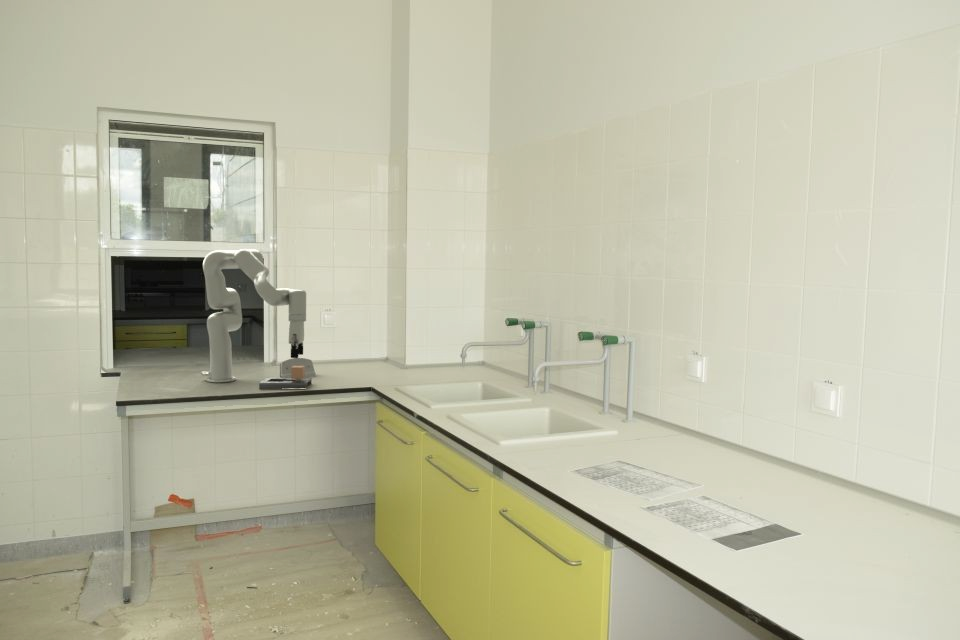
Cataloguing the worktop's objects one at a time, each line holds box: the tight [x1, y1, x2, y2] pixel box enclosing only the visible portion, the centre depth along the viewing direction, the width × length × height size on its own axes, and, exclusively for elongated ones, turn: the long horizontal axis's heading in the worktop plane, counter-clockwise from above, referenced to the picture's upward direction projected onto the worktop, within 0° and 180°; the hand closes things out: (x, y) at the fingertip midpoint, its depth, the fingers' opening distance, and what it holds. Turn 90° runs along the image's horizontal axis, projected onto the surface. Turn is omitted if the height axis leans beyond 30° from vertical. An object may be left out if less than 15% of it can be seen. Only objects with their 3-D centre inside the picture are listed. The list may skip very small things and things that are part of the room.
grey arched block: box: [279, 357, 317, 378], centre depth 346 cm, size 17×5×10 cm, turn 121°
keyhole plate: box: [258, 377, 313, 390], centre depth 320 cm, size 20×13×3 cm, turn 92°
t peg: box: [291, 366, 306, 381], centre depth 320 cm, size 5×5×9 cm
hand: (297, 356), depth 320 cm, fingers open, 9 cm apart
